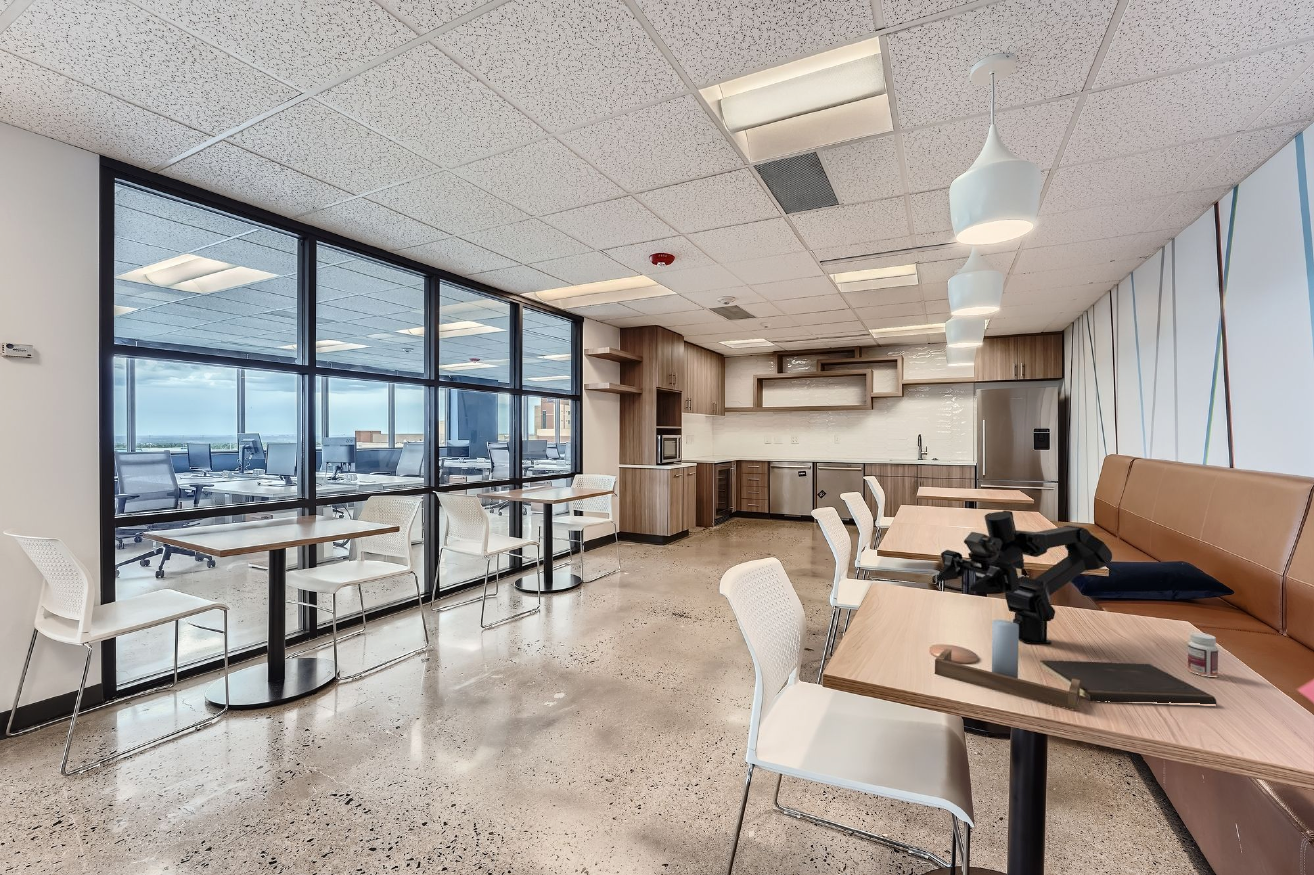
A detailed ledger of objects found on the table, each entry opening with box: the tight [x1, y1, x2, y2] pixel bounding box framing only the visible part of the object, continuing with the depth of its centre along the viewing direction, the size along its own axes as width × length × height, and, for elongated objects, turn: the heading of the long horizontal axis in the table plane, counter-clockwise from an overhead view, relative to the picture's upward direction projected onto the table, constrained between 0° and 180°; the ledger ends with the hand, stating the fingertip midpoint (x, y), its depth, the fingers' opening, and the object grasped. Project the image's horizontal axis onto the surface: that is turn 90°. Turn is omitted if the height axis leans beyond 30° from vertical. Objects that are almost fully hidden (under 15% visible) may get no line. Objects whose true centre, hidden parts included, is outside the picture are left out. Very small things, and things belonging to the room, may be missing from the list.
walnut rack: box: [934, 649, 1081, 711], centre depth 116 cm, size 9×24×3 cm, turn 49°
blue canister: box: [991, 619, 1020, 679], centre depth 116 cm, size 5×5×12 cm
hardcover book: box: [1039, 659, 1217, 705], centre depth 116 cm, size 16×23×2 cm
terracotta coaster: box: [928, 643, 979, 665], centre depth 131 cm, size 10×10×1 cm
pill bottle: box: [1187, 632, 1219, 677], centre depth 123 cm, size 5×5×8 cm
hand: (953, 583), depth 133 cm, fingers open, 9 cm apart
